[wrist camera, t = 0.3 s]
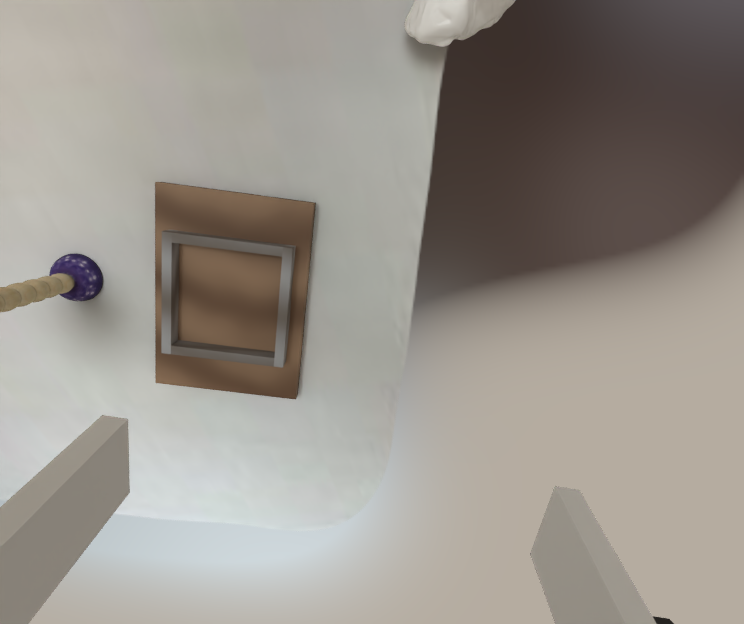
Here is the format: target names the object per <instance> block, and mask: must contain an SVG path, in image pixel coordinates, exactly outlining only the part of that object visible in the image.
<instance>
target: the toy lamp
mask: <svg viewBox="0 0 744 624" xmlns="http://www.w3.org/2000/svg"><path fill="white" fill-rule="evenodd" d="M101 287H102V274H101V272H100V269H99V268H98V266H97V265H96V263H95V262H93V261H92V260H91V259H90V258H88V257H86V256H84V255H81V254H68V255H65V256H63V257H61V258H60V259H58V260H57V261H56V262H55V263H54V264H53V266H52V267H51V270H50V276H45V277H41V278H38V279H31V280H27V281H25V282H23V283H15V284H11V285H8V286H7V287H0V312H6V311H10V310H13V309H14V308H16V307H20V306H25V305H28V304H30V303H32V302H39V301H42V300H44V299H45V298H51V297H54V296H56V295H58V294H60V295H61V296H63V297H64V298H67V299H69V300H73V301H85V300H89V299H91V298H94V297H95V296H96V295H97V294H98V293H99V291H100V290H101Z"/></svg>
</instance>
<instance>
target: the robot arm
mask: <svg viewBox="0 0 744 624" xmlns="http://www.w3.org/2000/svg"><path fill="white" fill-rule="evenodd" d="M129 493H130V489H129V443H128V419H124V418H118V417H111V416H105V415H102V416H101V417H100V418H99V419H98V420H97V421H95V422H94V423H93V424H92V425H91V426H90V427H89V428H88V429H87V430H85V431H84V432H83V433H82V434H81V435H80V436H79V437H78V438H77V439H75V440H74V441H73V442H72V443H71V444H70V445H69V446H68V447H67V448H66V449H64V450H63V451H62V452H61V453H60V454H59V455H58V456H57V457H56V458H54V459H53V460H52V461H51V462H50V463H49V464H48V465H47V466H46V467H44V468H43V469H42V470H41V471H40V472H39V473H38V474H37V475H36V476H35V477H33V478H32V479H31V480H30V481H29V482H28V483H27V484H26V485H25V486H23V487H22V488H21V489H20V490H19V491H18V492H17V493H16V494H15V495H13V496H12V497H11V498H10V499H9V500H8V501H7V502H6V503H5V504H3V505H2V506H1V507H0V624H28V623H29V622H30V621H31V620H32V618H33V617H34V616H35V614H36V613H37V612H38V611H39V609H40V608H41V607H42V605H43V604H44V603H45V602H46V600H47V599H48V597H49V596H50V595H51V593H52V592H53V591H54V590H55V589H56V587H57V586H58V584H59V583H60V582H61V581H62V579H63V578H64V577H65V575H66V574H67V573H68V572H69V570H70V569H71V568H72V566H73V565H74V564H75V563H76V561H77V560H78V559H79V557H80V556H81V555H82V553H83V552H84V551H85V550H86V548H87V547H88V546H89V544H90V543H91V542H92V540H93V539H94V538H95V537H96V535H97V534H98V533H99V531H100V530H101V529H102V528H103V526H104V525H105V524H106V522H107V521H108V520H109V518H110V517H111V516H112V515H113V513H114V512H115V511H116V509H117V508H118V507H119V506H120V504H121V503H122V502H123V500H124V499H125V498H126V496H127V495H128V494H129ZM530 555H531V557H532V560H533V563H534V566H535V569H536V571H537V574H538V577H539V580H540V582H541V585H542V588H543V591H544V594H545V596H546V599H547V602H548V605H549V607H550V610H551V613H552V616H553V619H554V621H555V624H674V623H673V622H672V621H671V620H670V619H666V618H660V617H653V616H652V615H651V613H650V611H649V610H648V608H647V606H646V604H645V603H644V601H643V600H642V598H641V596H640V594H639V593H638V591H637V589H636V587H635V585H634V584H633V582H632V580H631V579H630V577H629V575H628V573H627V572H626V570H625V568H624V566H623V565H622V563H621V561H620V559H619V558H618V556H617V554H616V553H615V551H614V549H613V548H612V546H611V544H610V542H609V541H608V539H607V537H606V535H605V534H604V532H603V530H602V528H601V527H600V525H599V523H598V521H597V520H596V518H595V516H594V515H593V513H592V511H591V509H590V508H589V506H588V504H587V503H586V501H585V499H584V497H583V496H582V494H581V492H580V491H579V490H576V489H569V488H563V487H557V486H555V487H554V490H553V493H552V496H551V498H550V501H549V504H548V507H547V509H546V512H545V515H544V518H543V520H542V523H541V526H540V528H539V531H538V534H537V537H536V539H535V542H534V545H533V548H532V550H531V553H530Z"/></svg>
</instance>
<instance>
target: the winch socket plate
mask: <svg viewBox="0 0 744 624" xmlns="http://www.w3.org/2000/svg"><path fill="white" fill-rule="evenodd" d="M315 205H316V203H313V202H306V201H298V200H291V199H283V198H276V197H269V196H261V195H254V194H246V193H239V192H231V191H224V190H217V189H209V188H202V187H194V186H187V185H179V184H172V183H165V182H155V300H156V383H162V384H170V385H179V386H187V387H196V388H204V389H213V390H221V391H230V392H238V393H247V394H255V395H264V396H272V397H281V398H289V399H296V397H297V394H298V385H299V374H300V364H301V353H302V343H303V332H304V321H305V311H306V300H307V290H308V279H309V268H310V258H311V247H312V237H313V226H314V215H315Z"/></svg>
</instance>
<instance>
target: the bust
mask: <svg viewBox="0 0 744 624" xmlns="http://www.w3.org/2000/svg"><path fill="white" fill-rule="evenodd" d="M515 1H516V0H415V1H414V4H413V6H412V8H411V10H410V12H409V14H408V15H407V17H406V21H405V30H406V32H407V33H408V34H409V36H411V37H414V38H416V40H417V41H419V42H420V43H423V44H427V43H428V44H430V45H432V44H433V45H435V46H439V47H444V46H447V45H449V44H450V43H451V42H452V41H453V40H454V39H459V40H464V39H466V38H469V37H471V36H472V35H474V34H476V33H477V32H478V31H479V30H481V29H484V28H488V27H491V26H492V25H493V24H495V23H496V22H498V20H499V19H500V18H501V17H502V15H503V13H504V12H505V11H506V9H508V8H509V7H510V6H511V5H512V4H513V3H514V2H515Z"/></svg>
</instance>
